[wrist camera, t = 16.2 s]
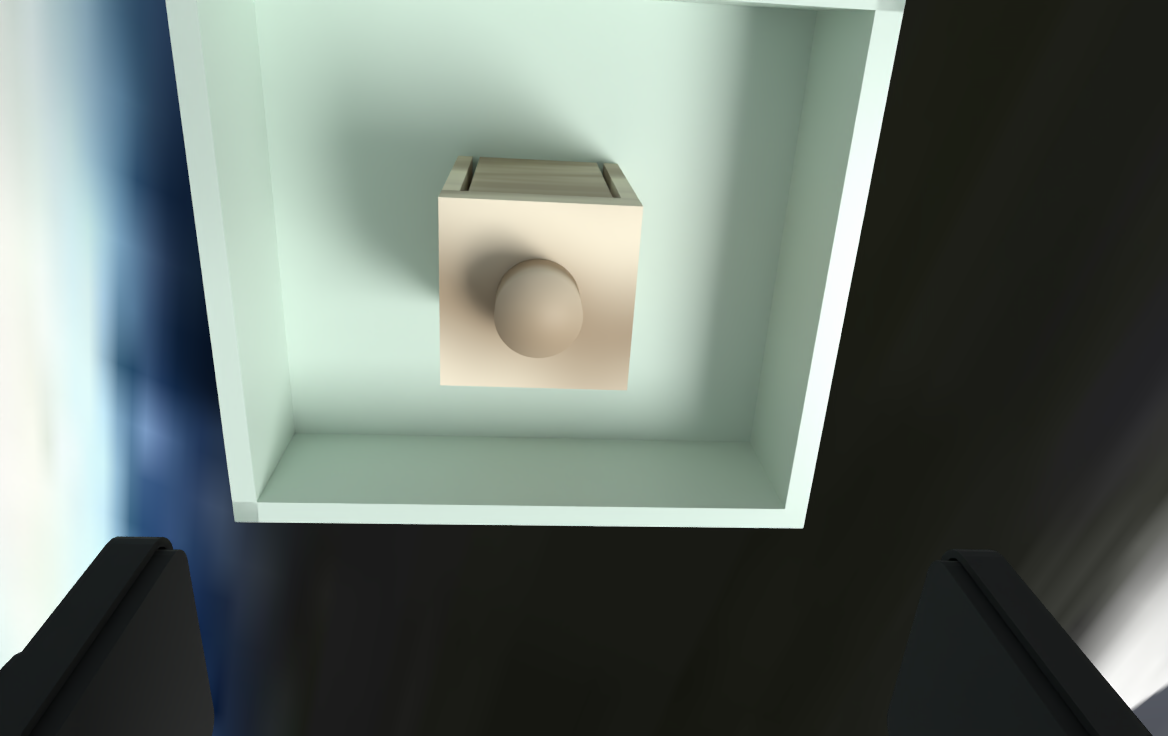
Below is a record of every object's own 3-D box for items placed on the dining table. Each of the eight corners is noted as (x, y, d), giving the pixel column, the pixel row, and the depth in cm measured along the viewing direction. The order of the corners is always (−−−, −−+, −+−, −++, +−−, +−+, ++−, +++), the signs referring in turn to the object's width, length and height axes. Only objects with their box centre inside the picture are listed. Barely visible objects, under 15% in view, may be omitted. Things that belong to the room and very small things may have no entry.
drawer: (458, 155, 28) (432, 209, 21) (617, 163, 29) (650, 219, 21) (458, 307, 31) (435, 407, 23) (606, 312, 31) (632, 412, 23)
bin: (834, -14, 28) (909, -20, 22) (759, 447, 35) (803, 528, 30) (233, -54, 26) (155, -71, 21) (282, 438, 33) (235, 521, 28)
